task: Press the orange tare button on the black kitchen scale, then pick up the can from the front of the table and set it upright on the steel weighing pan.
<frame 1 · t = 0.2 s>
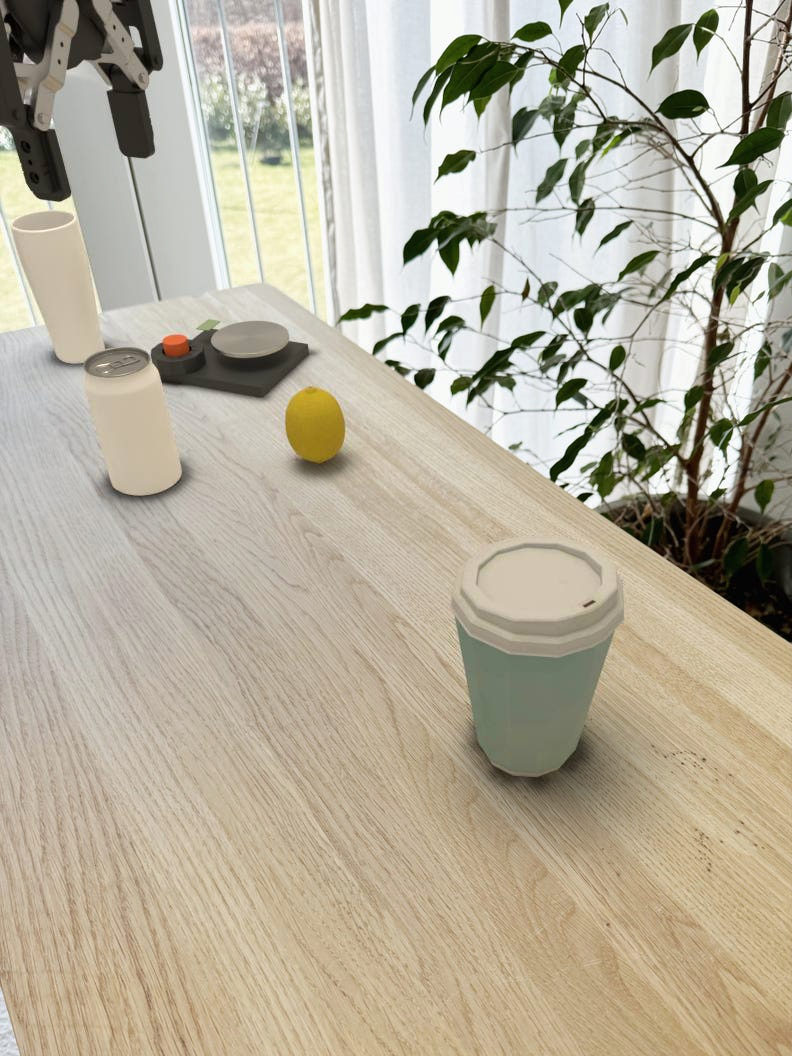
hand: (98, 176, 61), 32 cm above the table, tool pointing down, fingers open, 8 cm apart
can: (148, 481, 95), on the table
scale: (234, 367, 112), on the table
lemon: (320, 465, 97), on the table
drinking glass: (82, 357, 114), on the table
weighing pan: (250, 341, 110), resting on scale
tare button: (176, 346, 108), point 3 cm above the table, slide at 0.1 cm
disposable coffee cup: (530, 744, 69), on the table
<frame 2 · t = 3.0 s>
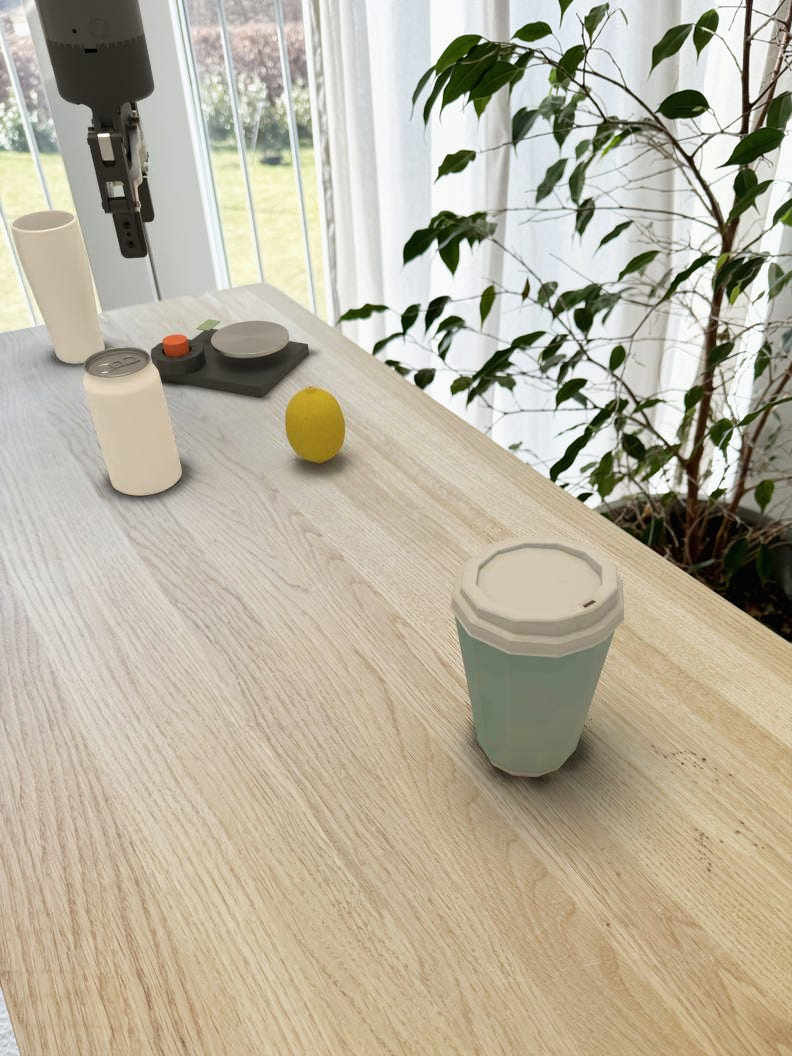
hand: (139, 238, 89), 19 cm above the table, tool pointing down, fingers open, 8 cm apart
nothing on the table moved.
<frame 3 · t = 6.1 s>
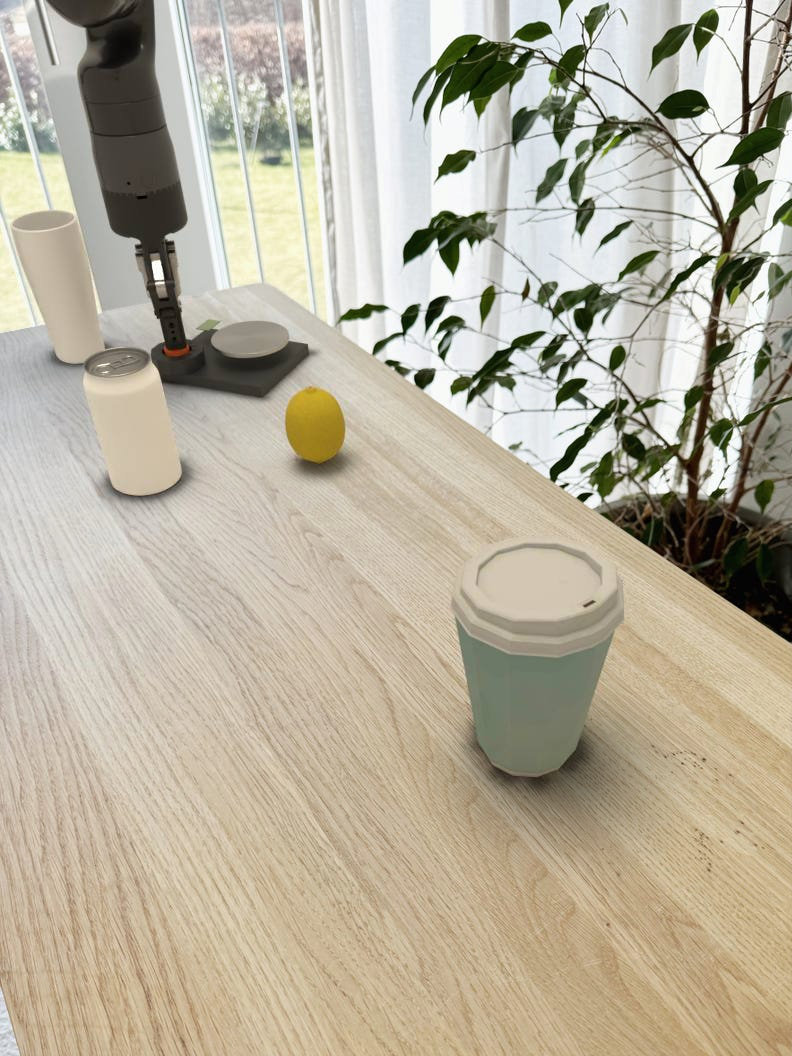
hand: (176, 346, 108), 3 cm above the table, tool pointing down, fingers closed
tare button: (177, 353, 109), point 3 cm above the table, slide at -0.7 cm, touching gripper
everything else where it was.
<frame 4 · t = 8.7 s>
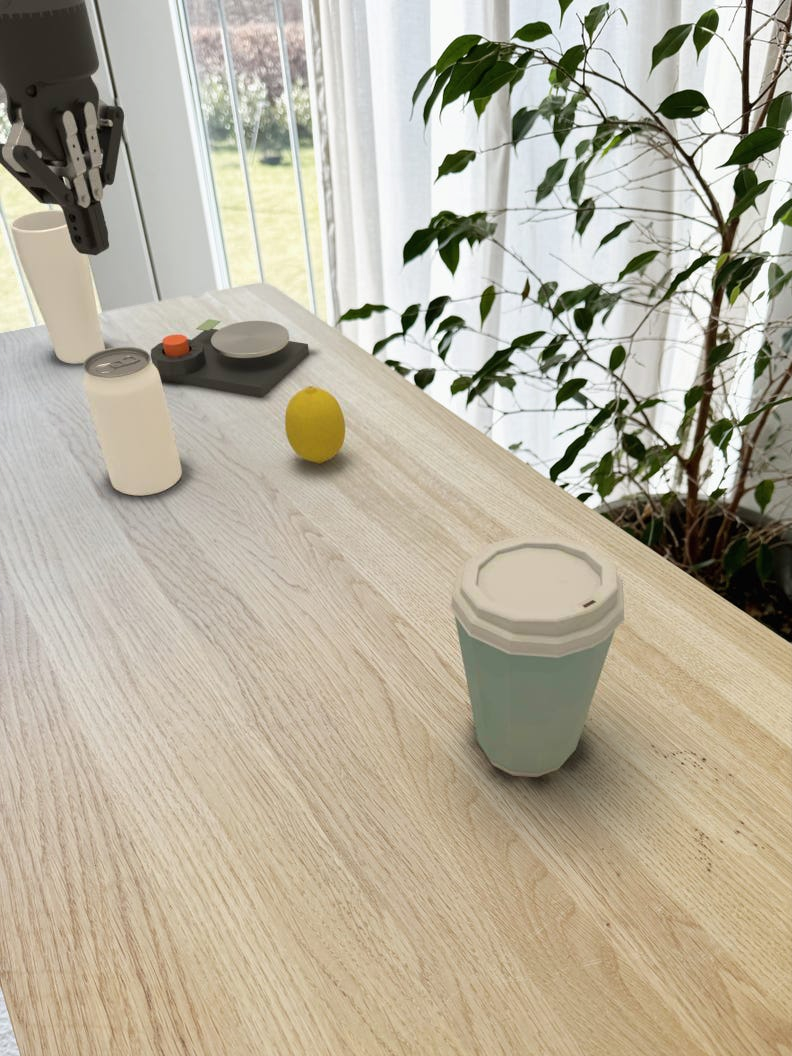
hand: (93, 251, 81), 21 cm above the table, tool pointing down, fingers closed
tare button: (176, 346, 108), point 3 cm above the table, slide at 0.1 cm
everything else where it was.
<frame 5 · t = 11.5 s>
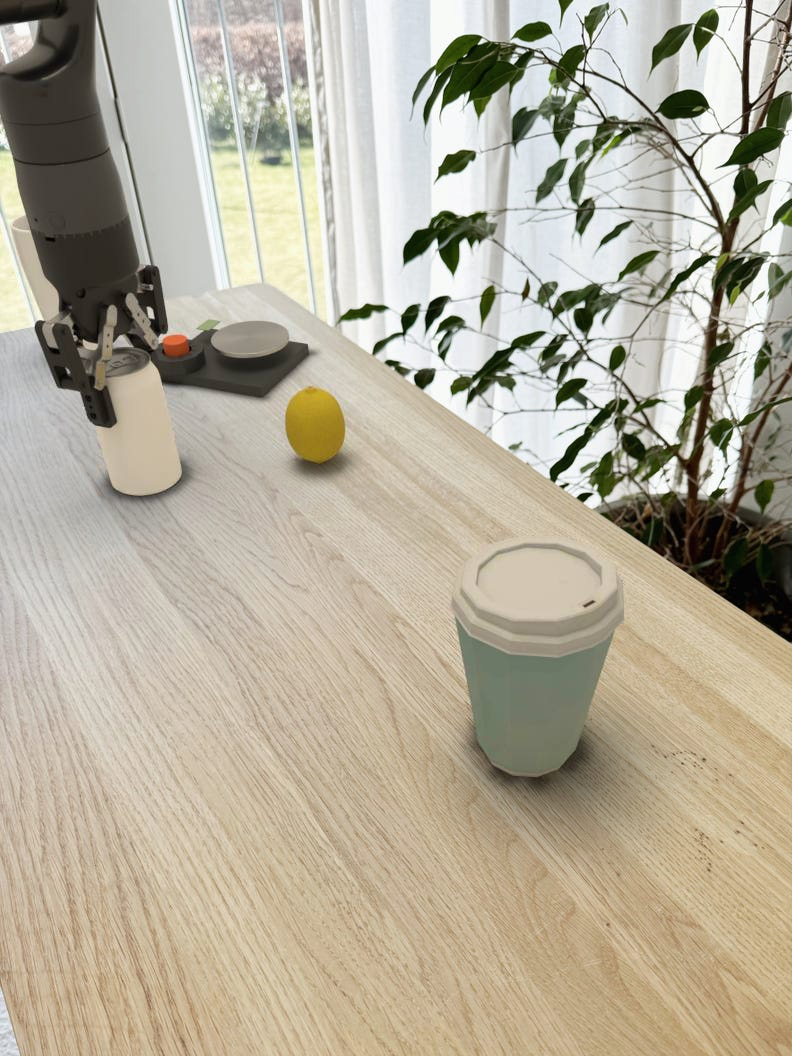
hand: (128, 405, 89), 8 cm above the table, tool pointing down, fingers closed on can, 6 cm apart
can: (148, 481, 95), on the table, touching gripper
everything else where it was.
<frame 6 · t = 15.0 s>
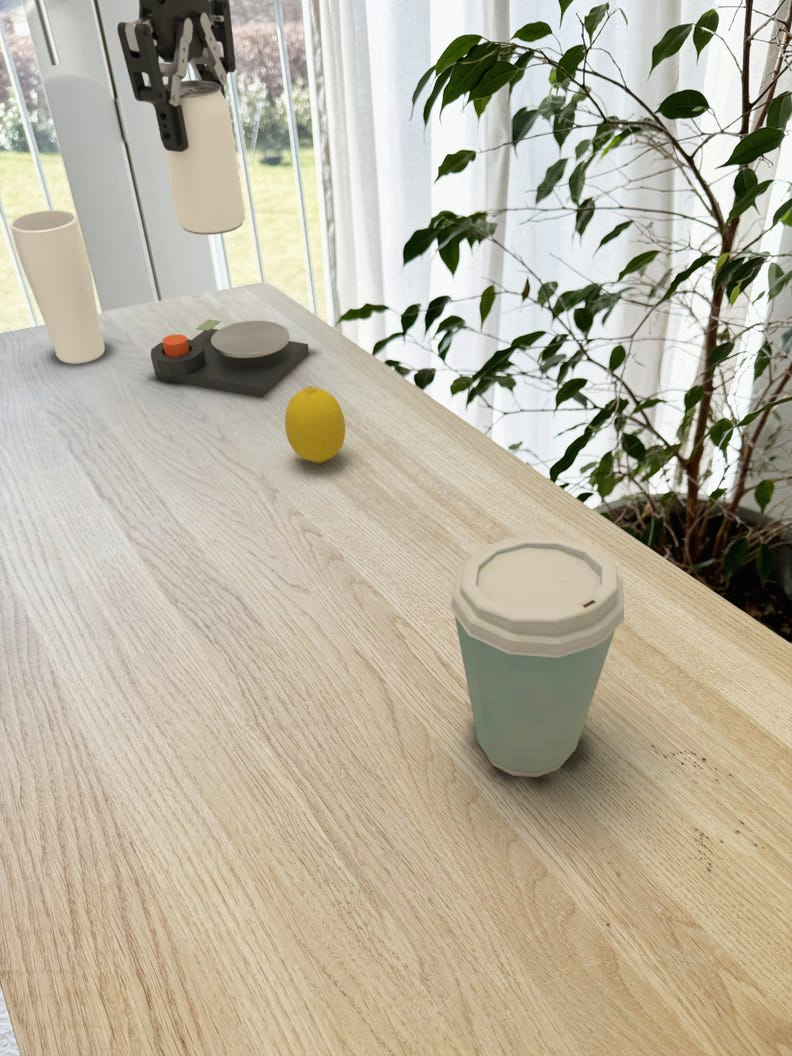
hand: (197, 138, 93), 24 cm above the table, tool pointing down, fingers closed on can, 6 cm apart
can: (213, 226, 98), point 16 cm above the table, touching gripper
everything else where it was.
when the fingers open (11 cm above the table, at t = 18.8 s): can stays where it is, resting on weighing pan.
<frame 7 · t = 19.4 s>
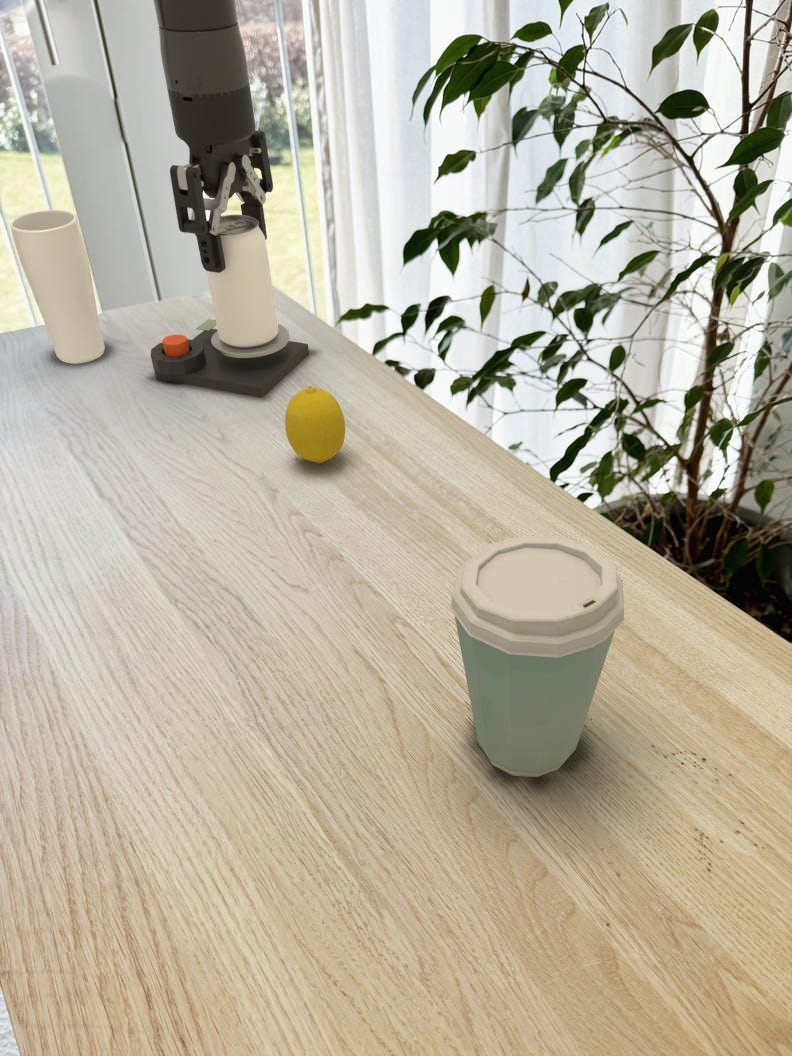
hand: (236, 255, 104), 12 cm above the table, tool pointing down, fingers open, 8 cm apart
can: (249, 338, 110), point 3 cm above the table, touching weighing pan
everything else where it was.
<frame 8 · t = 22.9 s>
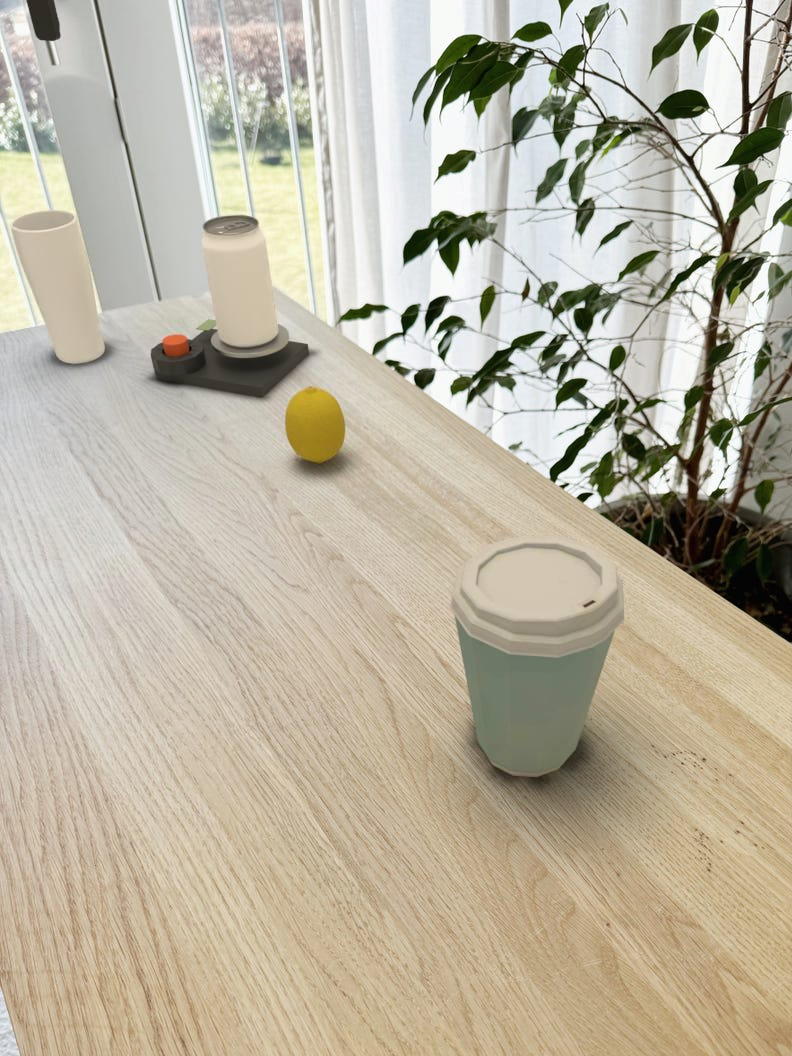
hand: (17, 50, 87), 32 cm above the table, tool pointing down, fingers open, 8 cm apart
nothing on the table moved.
at the end: tare button pushed in 0.9 cm at the most during the clip, back to where it started at the end; can inside the target area on the scale (0.1 cm from its centre), point 3.3 cm above the scale's base; can tilted 0° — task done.
